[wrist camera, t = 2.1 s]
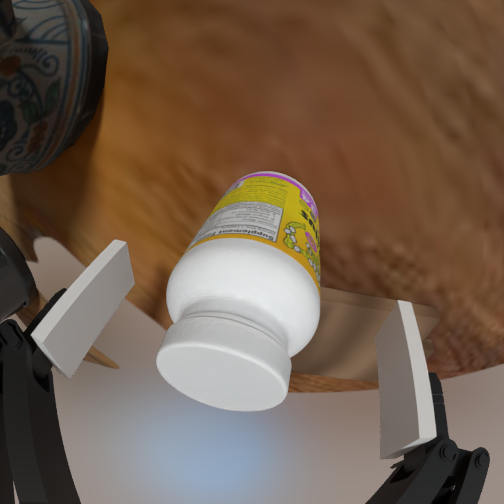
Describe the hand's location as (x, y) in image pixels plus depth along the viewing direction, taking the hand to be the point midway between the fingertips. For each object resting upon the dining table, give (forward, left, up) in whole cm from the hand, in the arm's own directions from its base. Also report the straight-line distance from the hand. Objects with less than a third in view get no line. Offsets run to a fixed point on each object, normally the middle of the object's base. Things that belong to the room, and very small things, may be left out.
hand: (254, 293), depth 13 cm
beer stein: (-20, +12, -8) cm, 25 cm away
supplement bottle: (0, 0, -8) cm, 8 cm away
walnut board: (+9, -11, -8) cm, 16 cm away
